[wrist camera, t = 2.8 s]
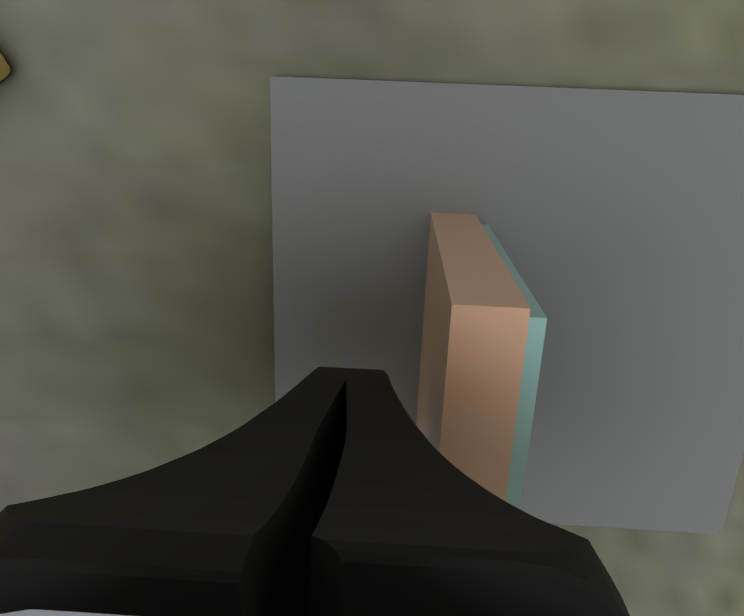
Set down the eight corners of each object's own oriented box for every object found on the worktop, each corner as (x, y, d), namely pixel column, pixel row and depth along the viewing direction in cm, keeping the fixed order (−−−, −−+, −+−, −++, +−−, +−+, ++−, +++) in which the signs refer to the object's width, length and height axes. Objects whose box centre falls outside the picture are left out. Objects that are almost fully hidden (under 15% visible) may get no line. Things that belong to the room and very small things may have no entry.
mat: (711, 520, 19) (721, 534, 18) (280, 494, 19) (276, 506, 18) (823, 98, 15) (840, 98, 14) (275, 76, 15) (269, 76, 14)
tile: (466, 428, 17) (505, 638, 11) (416, 425, 17) (423, 632, 11) (487, 214, 15) (552, 310, 9) (430, 211, 15) (452, 304, 9)
